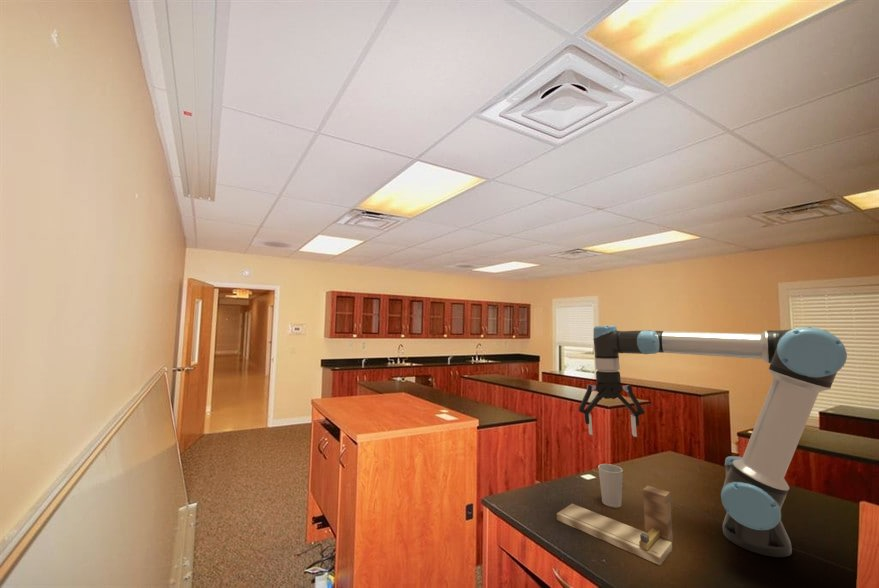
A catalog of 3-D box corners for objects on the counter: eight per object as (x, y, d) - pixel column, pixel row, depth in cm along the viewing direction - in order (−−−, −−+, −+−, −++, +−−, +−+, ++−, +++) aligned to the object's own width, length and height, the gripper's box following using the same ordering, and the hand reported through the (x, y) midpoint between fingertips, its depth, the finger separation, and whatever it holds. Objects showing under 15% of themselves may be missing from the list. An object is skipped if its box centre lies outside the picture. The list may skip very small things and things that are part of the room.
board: (672, 549, 101) (671, 542, 101) (660, 565, 94) (659, 557, 94) (572, 509, 123) (572, 503, 123) (556, 519, 117) (556, 513, 117)
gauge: (672, 542, 104) (670, 492, 106) (656, 563, 95) (653, 507, 96) (650, 533, 109) (647, 485, 110) (632, 552, 100) (629, 499, 101)
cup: (598, 505, 126) (597, 469, 127) (600, 495, 133) (598, 462, 134) (624, 510, 122) (622, 474, 124) (624, 500, 129) (622, 466, 131)
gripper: (644, 369, 124) (649, 433, 121) (568, 369, 129) (571, 430, 127) (651, 371, 116) (657, 439, 114) (570, 371, 122) (574, 436, 120)
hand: (612, 434), depth 120 cm, fingers open, 13 cm apart
